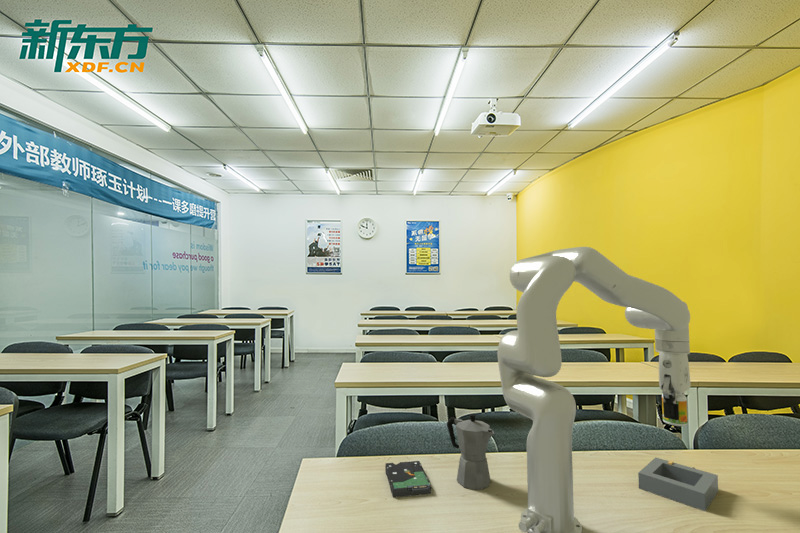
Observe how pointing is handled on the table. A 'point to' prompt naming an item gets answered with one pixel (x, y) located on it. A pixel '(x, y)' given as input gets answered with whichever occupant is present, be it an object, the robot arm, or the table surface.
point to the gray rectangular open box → (679, 483)
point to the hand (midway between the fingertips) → (674, 415)
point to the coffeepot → (471, 451)
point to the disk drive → (407, 479)
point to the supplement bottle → (682, 411)
